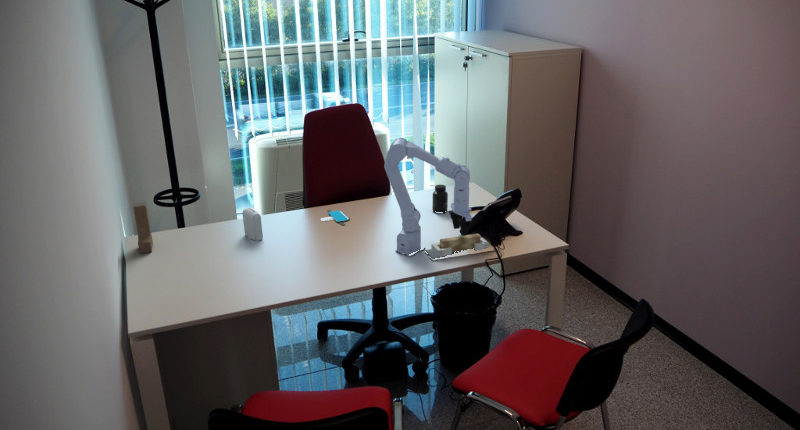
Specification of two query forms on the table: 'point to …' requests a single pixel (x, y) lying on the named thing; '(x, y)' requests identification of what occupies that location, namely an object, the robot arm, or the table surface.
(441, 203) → the supplement bottle
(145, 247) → the wooden block
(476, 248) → the cradle
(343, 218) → the phone stand
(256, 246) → the table surface
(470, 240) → the slat
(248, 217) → the photo printer
